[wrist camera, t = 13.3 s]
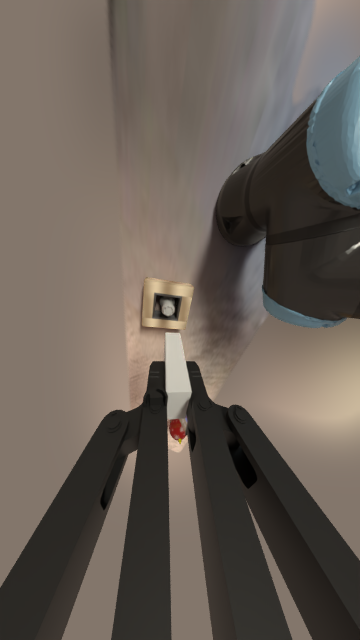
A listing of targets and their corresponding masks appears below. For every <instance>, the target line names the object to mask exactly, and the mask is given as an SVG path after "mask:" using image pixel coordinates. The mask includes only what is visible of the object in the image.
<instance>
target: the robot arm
mask: <svg viewBox="0 0 360 640" xmlns="http://www.w3.org/2000/svg"><path fill="white" fill-rule="evenodd" d="M216 217H217V223H218V227H219V230H220V232H221V234H222V235H223V237H224V238H225V239H226V240H227V241H228V242H230V243H231V244H234V245H237V246H245V245H251V244H254V243H257V242H259V241H261V240H262V239H264V238H265V237H266V244H265V260H264V279H263V285H262V292H263V305H264V308H265V309H266V310H267V311H268V312H269V313H270V314H271V315H272V316H274V317H275V318H277V319H279V320H281V321H284V322H287V323H290V324H293V325H297V326H302V327H310V328H320V327H321V326H323V327H326V328H327V327H334V326H336V325H339V324H340V323H342V322H343V321H345V320H346V319H347V318H356V319H360V56H359V57H358V58H357V59H356V60H355V61H354V62H353V63H352V64H351V65H350V66H349V67H347V68H346V69H345V70H344V71H342V72H341V73H339V74H338V75H337V76H336V77H335V78H334V79H333V80H332V81H331V82H330V83H329V84H328V85H327V86H326V87H325V88H324V90H323V91H322V93H321V94H320V95H319V97H318V98H317V99H316V100H315V101H314V102H313V103H312V104H311V105H310V106H309V107H308V108H307V109H306V110H305V111H304V112H303V113H302V114H301V115H300V116H299V117H298V118H297V119H296V121H295V122H294V123H293V124H292V125H291V126H290V127H289V128H288V129H287V130H286V131H285V132H284V133H283V134H282V135H281V136H280V137H279V138H278V139H277V140H276V141H275V142H274V143H273V144H272V146H271V147H270V148H269V149H268V150H267V151H266V152H264V153H262V154H259V155H257V156H254V157H252V158H249V159H247V160H246V161H244V162H243V163H241V164H240V165H239V166H238V167H237V168H236V169H235V170H234V171H233V172H232V174H231V175H230V176H229V177H228V179H227V180H226V181H225V183H224V185H223V187H222V189H221V191H220V194H219V197H218V202H217V209H216ZM186 414H187V426H186V430H185V436H186V435H188V443H189V451H190V459H191V466H192V475H193V483H194V491H195V499H196V507H197V515H198V521H199V530H200V538H201V546H202V554H203V562H204V570H205V578H206V586H207V594H208V602H209V609H210V618H211V625H212V634H213V640H292V637H291V634H290V631H289V628H288V625H287V622H286V619H285V616H284V613H283V610H282V607H281V604H280V601H279V598H278V595H277V592H276V589H275V586H274V583H273V580H272V577H271V574H270V571H269V569H268V565H267V562H266V559H265V556H264V553H263V550H262V547H261V544H260V541H259V538H258V535H257V532H256V529H255V526H254V523H253V520H252V517H251V514H250V512H249V508H248V505H249V507H250V509H251V511H252V513H253V515H254V517H255V519H256V522H257V523H258V526H259V528H260V530H261V532H262V534H263V536H264V538H265V540H266V543H267V545H268V546H269V549H270V551H271V553H272V555H273V557H274V559H275V561H276V564H277V566H278V568H279V570H280V572H281V574H282V576H283V578H284V580H285V582H286V585H287V587H288V589H289V591H290V593H291V595H292V597H293V599H294V601H295V604H296V606H297V608H298V610H299V612H300V614H301V616H302V618H303V620H304V622H305V624H306V627H307V629H308V631H309V633H310V635H311V637H312V639H313V640H360V561H359V559H358V558H357V556H356V555H355V554H354V553H353V551H352V550H351V549H350V547H349V546H348V545H347V543H346V542H345V541H344V539H343V538H342V537H341V535H340V534H339V533H338V531H337V530H336V529H335V527H334V526H333V525H332V523H331V522H330V521H329V519H328V518H327V517H326V515H325V514H324V513H323V511H322V510H321V509H320V507H319V506H318V505H317V503H316V502H315V501H314V499H313V498H312V497H311V495H310V494H309V493H308V492H307V490H306V489H305V488H304V486H303V485H302V483H301V482H300V481H299V479H298V478H297V477H296V475H295V474H294V473H293V471H292V470H291V469H290V467H289V466H288V465H287V463H286V462H285V461H284V459H283V458H282V457H281V455H280V454H279V453H278V451H277V450H276V449H275V447H274V446H273V445H272V443H271V442H270V441H269V439H268V438H267V437H266V435H265V434H264V433H263V431H262V430H261V429H260V427H259V426H258V425H257V424H256V422H255V421H254V420H253V418H252V417H251V415H250V414H249V413H248V412H247V411H246V410H245V409H244V408H243V407H241V406H239V405H232V406H230V407H229V408H226V407H223V406H220V405H217V404H215V403H214V402H213V401H212V400H211V399H210V398H209V397H208V395H207V392H206V389H205V385H204V382H203V379H202V377H201V373H200V369H199V366H198V365H197V364H196V362H195V361H185V356H184V351H183V346H182V341H181V336H180V333H167V332H166V333H165V345H164V361H153V362H152V364H151V365H150V369H149V376H148V384H147V391H146V393H145V395H144V398H143V403H142V404H141V405H140V406H139V407H137V408H135V409H133V410H131V411H128V412H125V411H123V410H115V411H112V412H110V413H109V414H108V415H106V416H105V417H104V419H103V420H102V421H101V423H100V425H99V426H98V428H97V429H96V431H95V433H94V434H93V436H92V438H91V440H90V441H89V443H88V444H87V446H86V448H85V449H84V451H83V452H82V454H81V456H80V457H79V459H78V461H77V462H76V464H75V466H74V467H73V469H72V471H71V472H70V474H69V476H68V477H67V479H66V480H65V482H64V484H63V485H62V487H61V489H60V490H59V492H58V494H57V496H56V497H55V499H54V500H53V502H52V504H51V505H50V507H49V509H48V510H47V512H46V514H45V515H44V517H43V518H42V520H41V522H40V523H39V525H38V527H37V528H36V530H35V532H34V533H33V535H32V537H31V538H30V540H29V542H28V543H27V545H26V546H25V548H24V550H23V551H22V553H21V555H20V557H19V558H18V560H17V561H16V563H15V565H14V566H13V568H12V569H11V571H10V573H9V575H8V576H7V578H6V579H5V581H4V583H3V585H2V586H1V588H0V640H61V639H62V636H63V634H64V631H65V628H66V625H67V623H68V620H69V617H70V614H71V611H72V609H73V606H74V603H75V600H76V598H77V594H78V592H79V590H80V587H81V584H82V581H83V578H84V576H85V573H86V570H87V567H88V565H89V562H90V559H91V556H92V553H93V550H94V548H95V545H96V542H97V540H98V537H99V534H100V532H101V529H102V526H103V523H104V520H105V518H106V515H107V512H108V509H109V507H110V504H111V501H112V498H113V496H114V493H115V490H116V487H117V485H118V481H119V479H120V476H121V473H122V471H123V468H124V465H125V462H126V460H127V457H128V454H130V453H132V452H133V451H135V450H137V449H138V450H137V458H136V465H135V472H134V479H133V486H132V494H131V502H130V508H129V516H128V523H127V530H126V537H125V544H124V552H123V559H122V566H121V574H120V580H119V589H118V595H117V602H116V609H115V617H114V624H113V631H112V638H111V640H171V595H170V543H169V542H170V540H169V488H168V433H167V419H185V418H186ZM246 501H247V502H246ZM247 503H248V505H247Z"/></svg>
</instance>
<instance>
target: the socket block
mask: <svg viewBox="0 0 360 640" xmlns="http://www.w3.org/2000/svg"><path fill="white" fill-rule="evenodd" d="M193 291H194V287H193V286H192V285H190V284H186V283H179V282H173V281H167V280H160V279H154V278H147V277H146V279H145V280H144V294H143V313H142V326H147V327H159V328H170V329H182V330H185V328H186V324H187V319H188V314H189V309H190V305H191V300H192V295H193ZM156 295H162V296H169V297H177V302H176V308H175V312H174V313H173V314H172V315H171V316H166V315H164V314H163V313H162V311H158V310H155V305H156Z"/></svg>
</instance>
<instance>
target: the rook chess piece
mask: <svg viewBox="0 0 360 640" xmlns="http://www.w3.org/2000/svg"><path fill="white" fill-rule="evenodd" d="M159 302H160V306H161V307H162V313H163V314H164V315H166V316H171V315H172V314H173V313H174V312H175V307H174V305H175V299H174V297H169V296H161V298H160V301H159Z"/></svg>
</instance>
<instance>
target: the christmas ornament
mask: <svg viewBox="0 0 360 640" xmlns="http://www.w3.org/2000/svg"><path fill="white" fill-rule="evenodd" d="M169 429H170V434H171V436H172V437H173V438H174V439H175V440H178V442H179V444H181V440H182V439H184V438H185V431H184V429H183V427H182V425H181V422H180V420H179V419H173V420H172V421H171V423H170V428H169Z"/></svg>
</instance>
